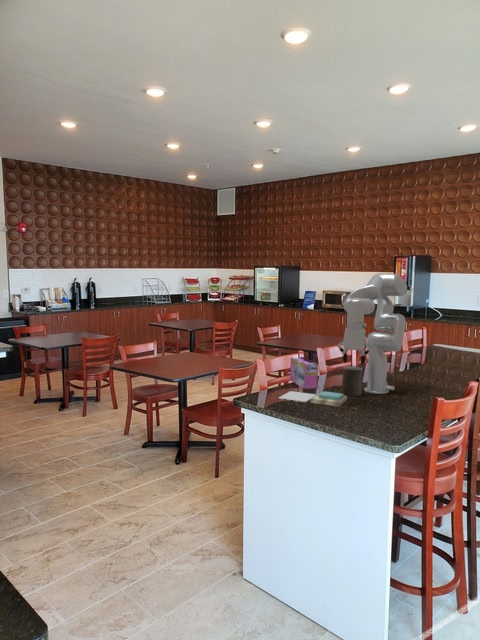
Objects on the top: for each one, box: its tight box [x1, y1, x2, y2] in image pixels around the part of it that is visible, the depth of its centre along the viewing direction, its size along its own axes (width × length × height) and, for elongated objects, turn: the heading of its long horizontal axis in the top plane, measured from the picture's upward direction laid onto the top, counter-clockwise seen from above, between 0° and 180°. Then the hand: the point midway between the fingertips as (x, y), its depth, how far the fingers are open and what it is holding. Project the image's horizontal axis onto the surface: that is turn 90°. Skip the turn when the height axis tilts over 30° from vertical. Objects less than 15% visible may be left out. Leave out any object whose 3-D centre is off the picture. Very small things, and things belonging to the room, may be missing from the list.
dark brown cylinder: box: [341, 365, 363, 397], centre depth 249 cm, size 10×10×15 cm
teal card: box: [318, 390, 345, 401], centre depth 234 cm, size 10×8×2 cm
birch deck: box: [309, 392, 348, 407], centre depth 234 cm, size 14×14×2 cm
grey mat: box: [278, 390, 316, 403], centre depth 242 cm, size 14×16×1 cm
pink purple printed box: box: [289, 356, 319, 390], centre depth 272 cm, size 24×8×14 cm, turn 15°
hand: (353, 363), depth 227 cm, fingers open, 7 cm apart
